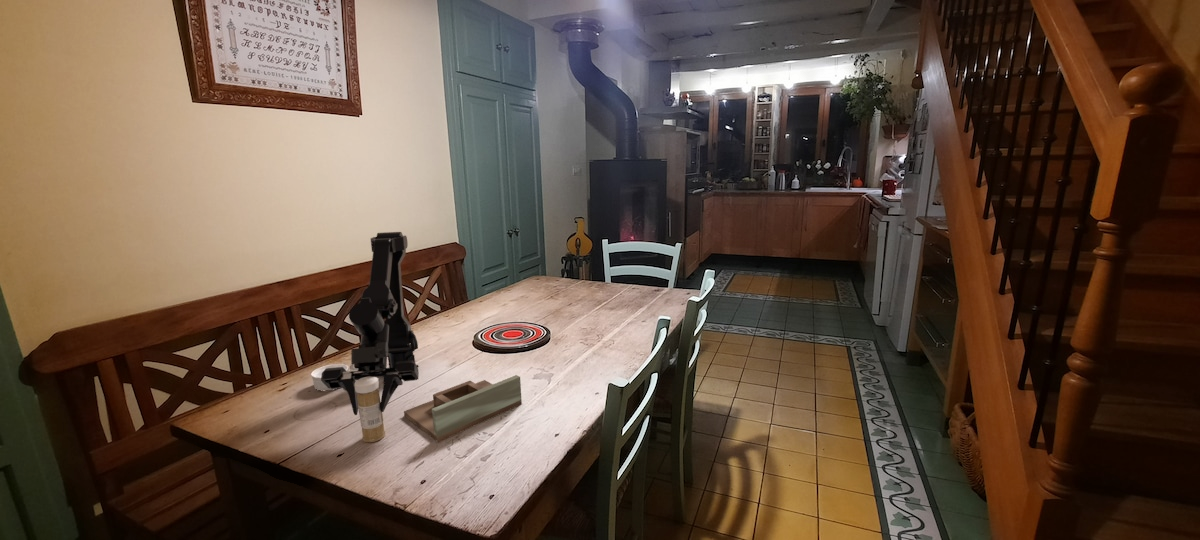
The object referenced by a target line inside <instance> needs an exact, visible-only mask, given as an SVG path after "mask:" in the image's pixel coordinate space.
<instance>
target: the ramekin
mask: <svg viewBox="0 0 1200 540" xmlns="http://www.w3.org/2000/svg"><path fill="white" fill-rule="evenodd" d="M336 367H343V368H344V369H345V370H346V371H347V372H348V371H349V370H350V366H349V365H346V364H344V363H333V364H327V365H324V366H320V367H317V368H316V369H314V370H312V372H311V373H310V376H311V379H312V381H313V386H314V389H315V390H316V389H317V390H316V391H318V390H322V391H321V392H324V391H323V390H332V391H334V390H333V389H330V388H328V387H327V386H326V385H325V384H324V383H323V382H322V381H321V376H322V372H323V371H324V370H325V369H326V368H336ZM336 390H338V389H337V388H336Z"/></svg>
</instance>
